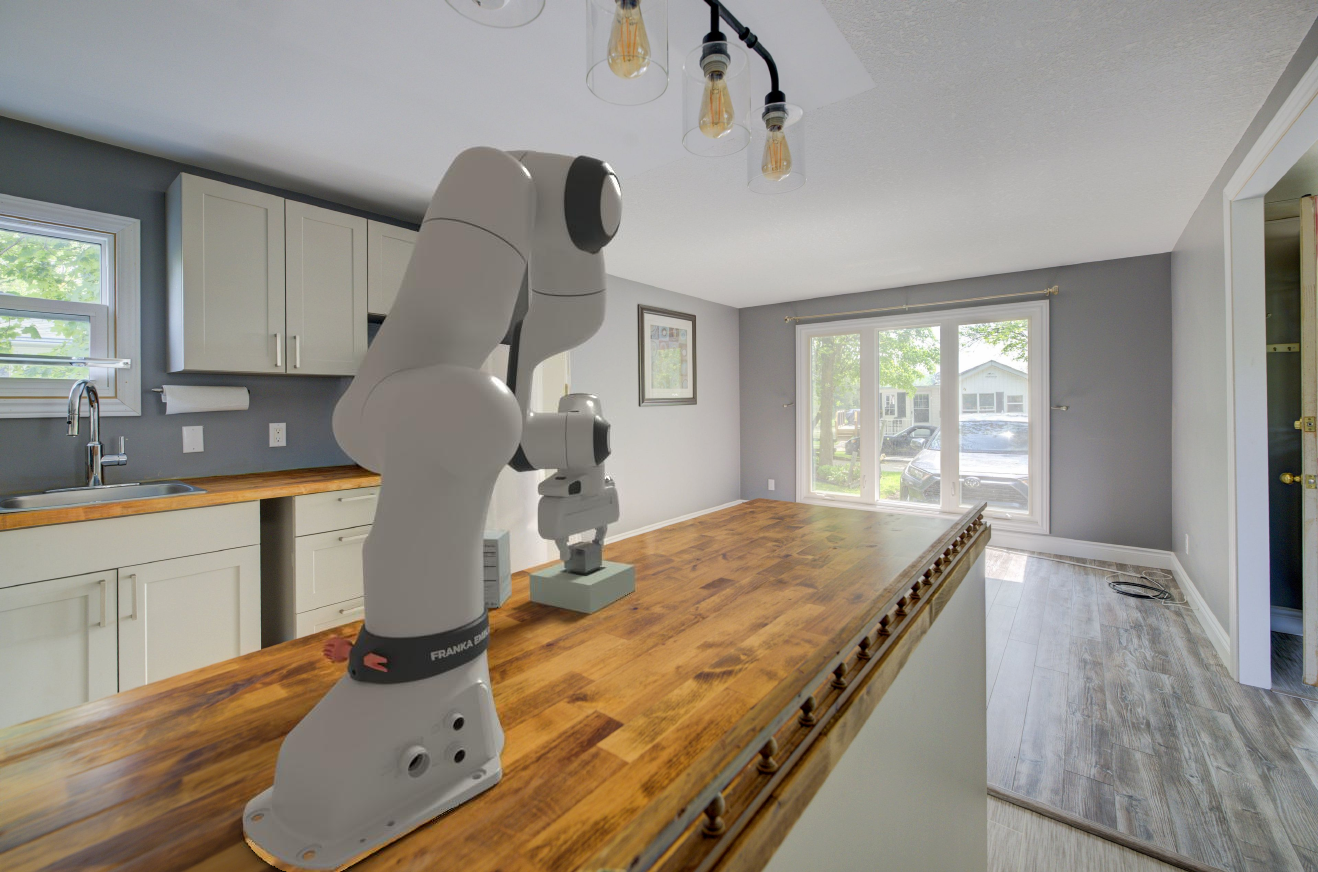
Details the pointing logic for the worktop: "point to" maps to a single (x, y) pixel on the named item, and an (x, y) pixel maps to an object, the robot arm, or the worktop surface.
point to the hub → (582, 586)
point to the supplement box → (496, 567)
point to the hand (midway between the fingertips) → (582, 554)
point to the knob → (584, 558)
